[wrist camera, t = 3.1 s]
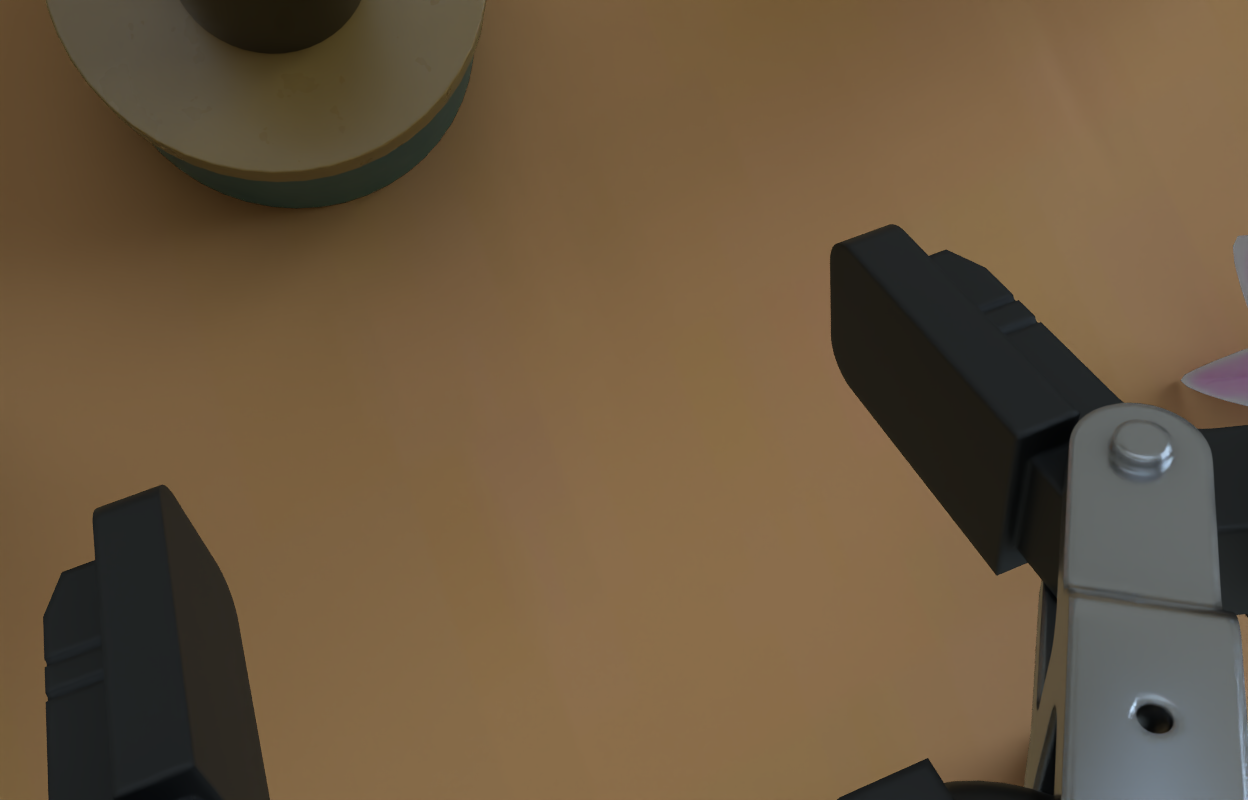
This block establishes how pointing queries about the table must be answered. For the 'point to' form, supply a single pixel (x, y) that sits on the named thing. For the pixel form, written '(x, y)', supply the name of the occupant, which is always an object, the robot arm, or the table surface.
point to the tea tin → (271, 22)
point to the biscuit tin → (280, 93)
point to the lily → (1239, 373)
